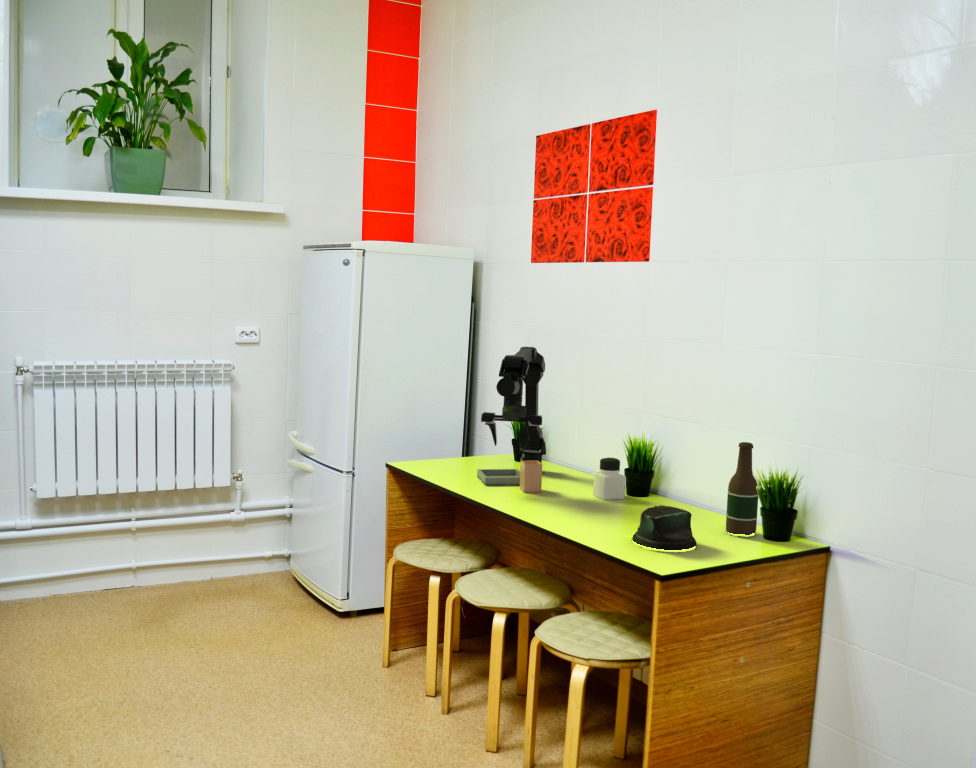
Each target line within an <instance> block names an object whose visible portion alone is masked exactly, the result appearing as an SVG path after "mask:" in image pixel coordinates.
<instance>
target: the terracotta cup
mask: <svg viewBox="0 0 976 768" xmlns="http://www.w3.org/2000/svg"><path fill="white" fill-rule="evenodd" d="M520 465H521V468H520V469H519V471H520V485H519V490H520V491H521V492H522V493H524V494H530V493H532V494H533V493H534V494H536V493H537V494H540V493H542V482H543V472H542V471H543V462H542V463H540V462H539V461H521V460H520Z"/></svg>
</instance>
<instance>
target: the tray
mask: <svg viewBox="0 0 976 768" xmlns="http://www.w3.org/2000/svg"><path fill="white" fill-rule="evenodd" d="M476 471H477V472H476V477H477V478H478V480H479V481H480V480H481V481H482V482H481V481H480V482H481V483H482V484H483V485H484V486H485V485H486V486H487V485H489V486H490V485H491V486H520V469H518V468H496V469H495V468H486V469H485V468H484V469H483V468H481V469H478V468H477V470H476Z"/></svg>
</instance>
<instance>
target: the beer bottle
mask: <svg viewBox="0 0 976 768" xmlns="http://www.w3.org/2000/svg"><path fill="white" fill-rule="evenodd" d="M738 443H739V444H738V447H739V449H738V457H737V466H736V470H735V473H734V474H733V476H731V478H730V480H729V483H728V487H727V500H726V501H727V502H726V513H725V514H726V519H725V531H726V530H727V532H729V533H733V534H745V535H750V534H752V533H755V532H756V533H757V524H758V523H757V522H758V509H759V508H758V507H759V492H758V493H757V490H756V486H757V485H758V482H757V480H756V478H755V476H754V474H753V473H754V472H753V448H754V444H753V443H752V442H747V441H742V442H738ZM727 532H726V533H727Z"/></svg>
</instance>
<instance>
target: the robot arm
mask: <svg viewBox="0 0 976 768" xmlns="http://www.w3.org/2000/svg"><path fill="white" fill-rule="evenodd" d="M545 371H546V362H545V357H544V356H543V355H542V354H540V353H539V352H538V350H537V347H534V346H522V347H520V348H519V350H518V351H517V352H516V353H515V354H506V355H505V356H504V358H502V361H501V364H500V367H499V373H498V377H500V379H499V380H498V381H497V384H496V387H495V388H496V392H497V394H498V395H499V396H501V397H503V405H502V406H503V407H502V409H501V412H502V413H501V414H496V412H491V411H489V412H488V411H487V412H486V411H484V412H482V413H481V415H480V416H481V417H480V423H481V422H482V423H484V425H486V426H488V427H489V429H490V432H491V435H492V440H493V443H494V446H495V447H496V446H497V442H498V440H497V439H498V438H497V437H498V436H497V423H496V422H512V423H513V422H514V423H524V427H523V428H522V430H521V431H520V434H519V437H518V454H522V456H520V462H521V461H539V462H540V463H542V464H543V459H542V458H543V456H546V455H547V448H546V447H547V446H546V442H545V437H544V436H543V435H544V433H543V430H542V429H541V427H540V426H543V416H542V415H541V414H540V415H539V389H540V387H539V386H540V385H539V383H540V382H541V380H542V378H543V377H544V373H545ZM524 385H525V392H524V391H523V390H524V389H523V388H524ZM523 393H524V397H525V398H524V399H525V401H524V405H523ZM520 468H521V464H520ZM542 473H544V472H543V470H542Z"/></svg>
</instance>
